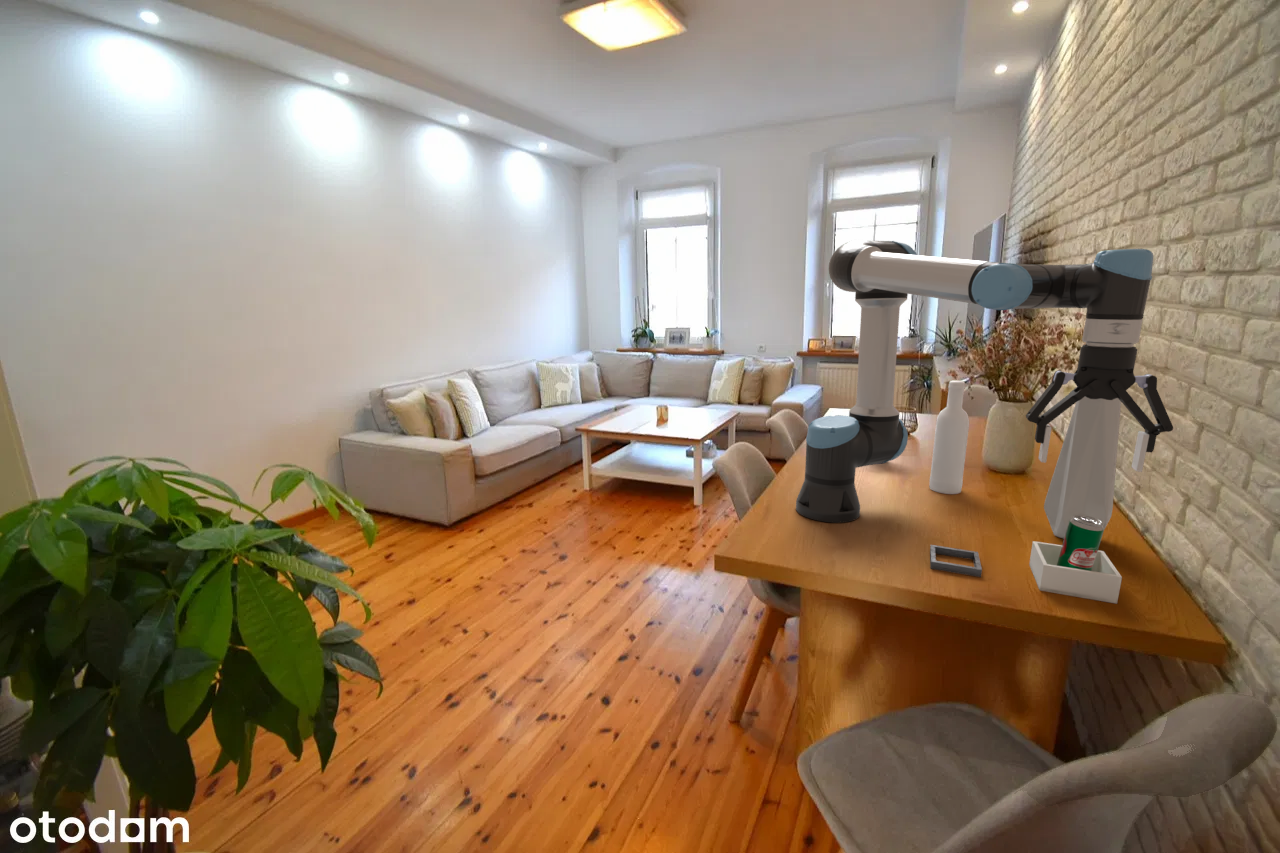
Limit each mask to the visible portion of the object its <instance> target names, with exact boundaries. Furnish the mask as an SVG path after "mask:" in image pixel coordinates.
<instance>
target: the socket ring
mask: <svg viewBox="0 0 1280 853" xmlns="http://www.w3.org/2000/svg"><path fill="white" fill-rule="evenodd" d="M929 547H930V548H929V562H930V563H929V564H930V570H931V569H932V570H936V571H937V570H938V571H943V572H949V573H955V574H961V575H965V576H971V577H972V576H973V577H977V578H982V572H983V568H982V565H981V560H980V555H979V552H978V551H974V550H968V549H961V548H957V547H956V548H954V547H948V546H942V545H936V544H930V546H929ZM936 555H943V556H949V557H954V558H959V559H960V558H961V559H965V560H966V559H967V560H972V561H973V562H972V563H973V566H970V565H966V564H965V565H964V564H959V563H958V564H957V563H953V562H945V561H941V560H937V559H936V558H937V556H936Z"/></svg>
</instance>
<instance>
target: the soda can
mask: <svg viewBox="0 0 1280 853" xmlns="http://www.w3.org/2000/svg"><path fill="white" fill-rule="evenodd" d="M1102 525H1103V523H1102V522H1101V521H1100V520H1098V519H1095V518H1093V517H1089V516H1085V515H1074V516H1073V518H1072V519H1071V520H1070V521H1069V524H1068V527H1067V531H1066V534H1065V538H1064V539H1063V542H1062V544H1061V545H1062V548H1061V552H1060V555H1059V559H1058V562H1057V566H1062V567H1069V568H1075V569H1081V570H1088V571H1092V568H1093V564H1094V561H1095V558H1096V555H1097V551H1099V547H1100V544H1101V542H1102V538H1103V535H1104V531H1105V529H1104V528H1103V526H1102Z"/></svg>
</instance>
